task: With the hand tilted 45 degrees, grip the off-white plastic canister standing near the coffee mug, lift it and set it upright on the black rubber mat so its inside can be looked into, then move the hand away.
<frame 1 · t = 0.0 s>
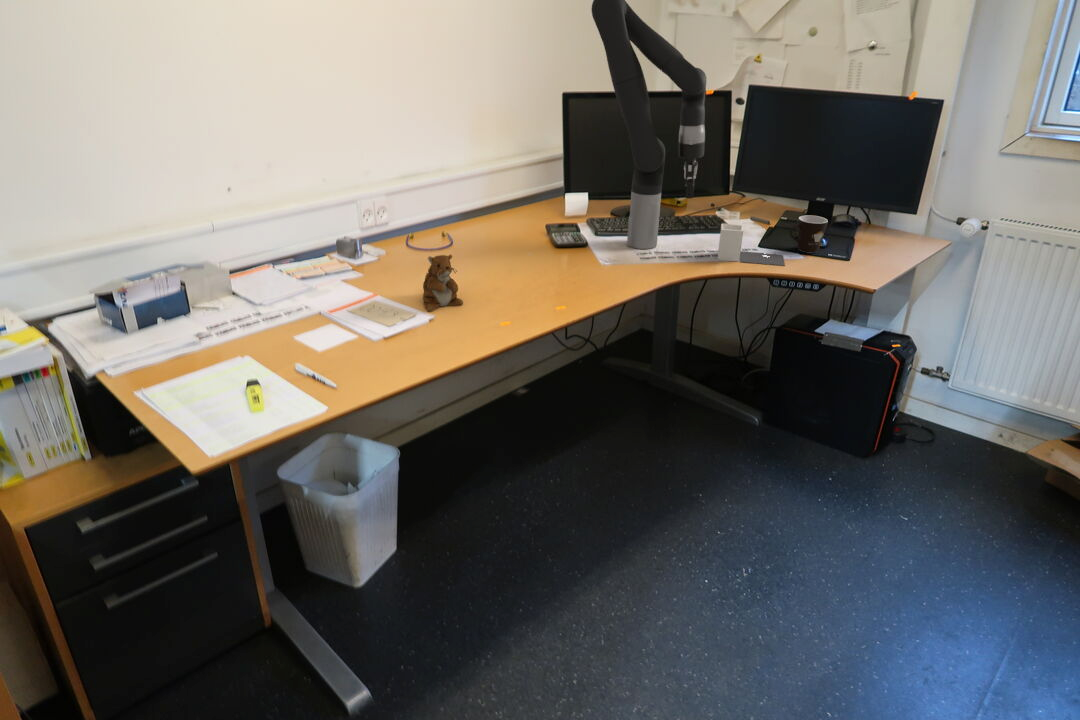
hand: (689, 194, 228), 17 cm above the table, tool pointing down, fingers open, 8 cm apart
canister: (728, 257, 229), on the table
brown plush animal: (439, 301, 195), on the table
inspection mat: (761, 258, 228), on the table
coffee mug: (802, 250, 236), on the table
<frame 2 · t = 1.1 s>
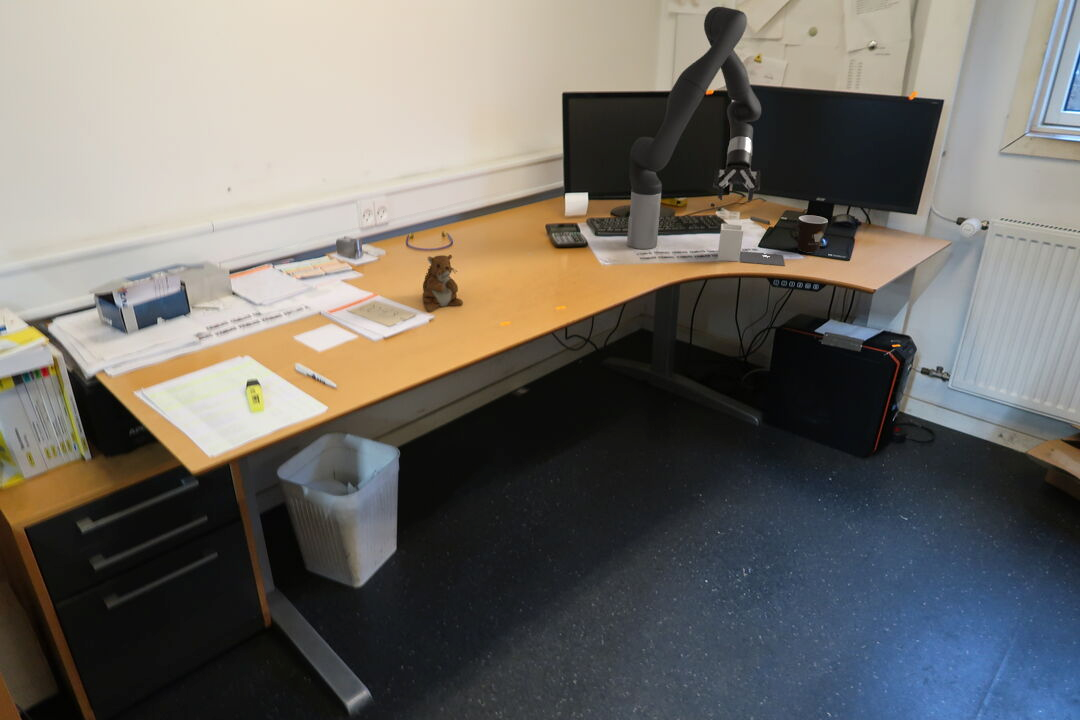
hand: (734, 200, 232), 15 cm above the table, tool tilted 45°, fingers open, 8 cm apart
nothing on the table moved.
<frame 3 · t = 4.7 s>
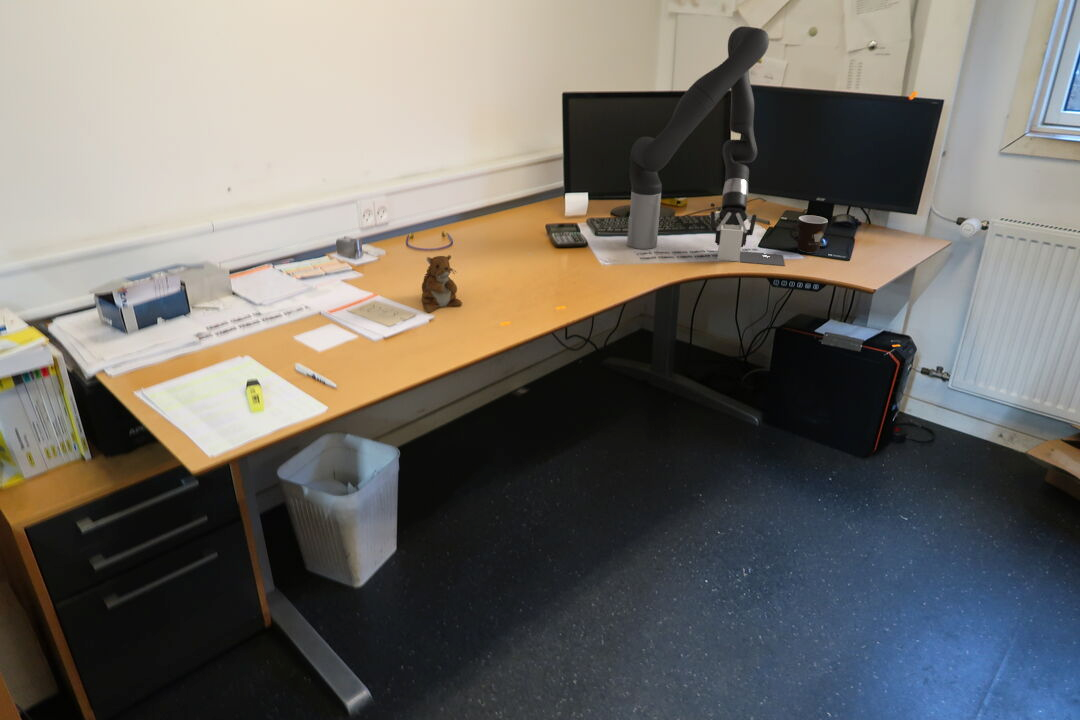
hand: (730, 244, 225), 4 cm above the table, tool tilted 45°, fingers closed on canister, 6 cm apart
canister: (728, 257, 229), on the table, touching gripper
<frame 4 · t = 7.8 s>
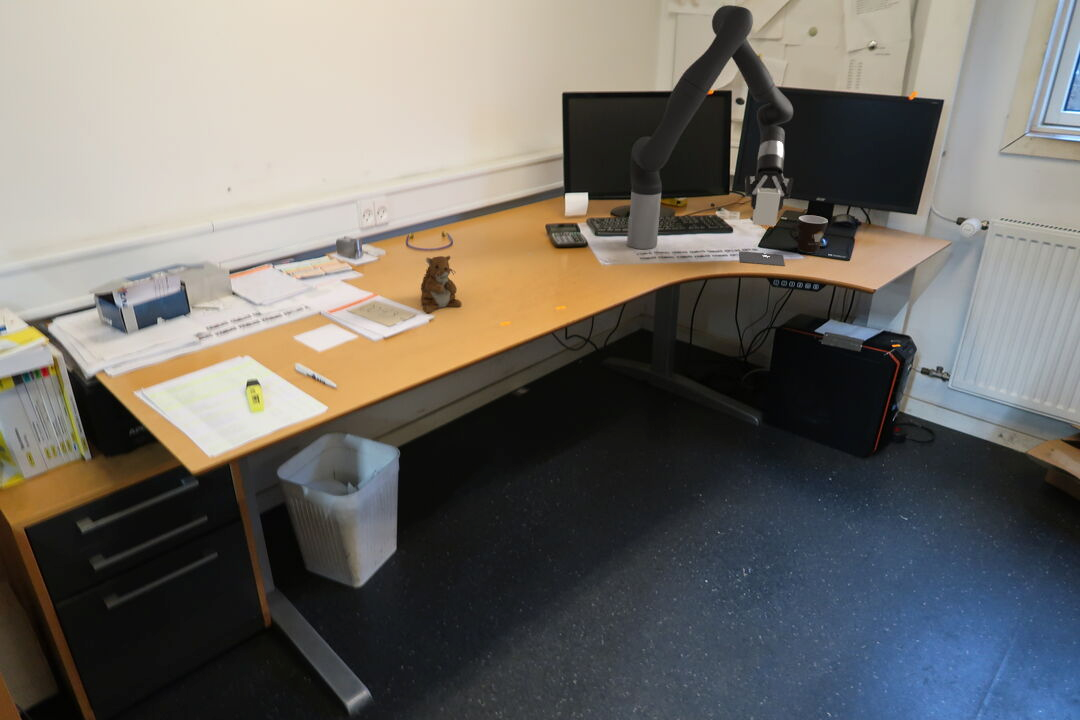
hand: (766, 208, 219), 16 cm above the table, tool tilted 45°, fingers closed on canister, 6 cm apart
canister: (764, 221, 223), point 12 cm above the table, touching gripper
when the fingers open (6 cm above the table, at t = 11.0 s): canister drops 1 cm, resting on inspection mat.
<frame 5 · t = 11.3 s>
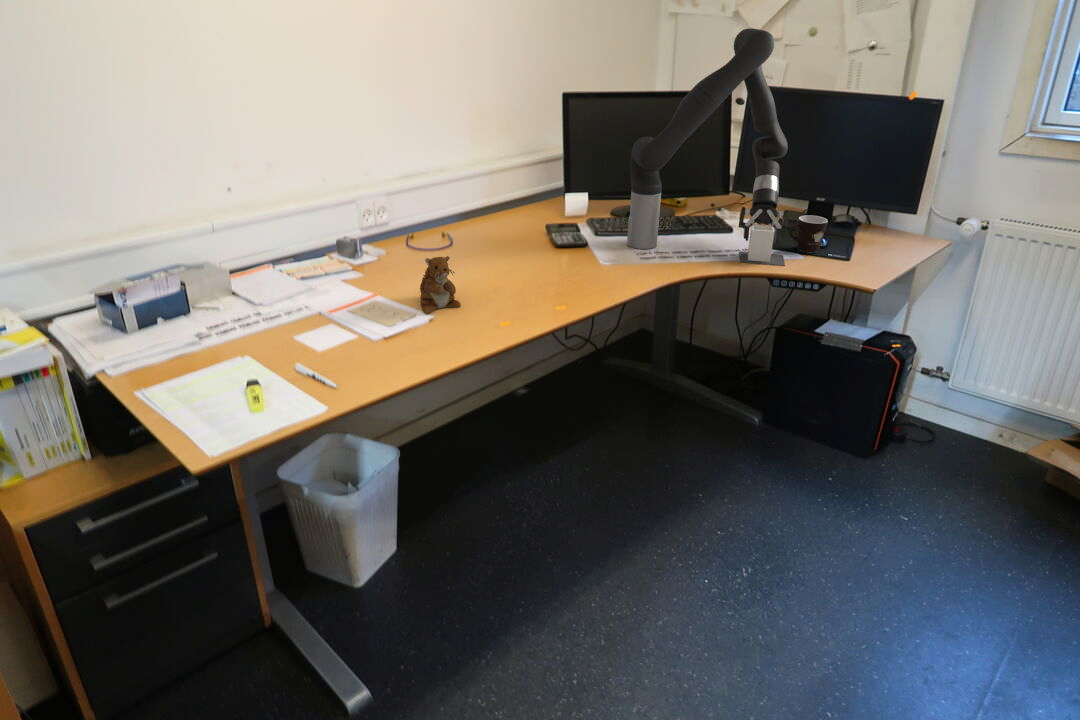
hand: (761, 240, 224), 6 cm above the table, tool tilted 45°, fingers open, 8 cm apart
canister: (758, 257, 228), resting on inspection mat
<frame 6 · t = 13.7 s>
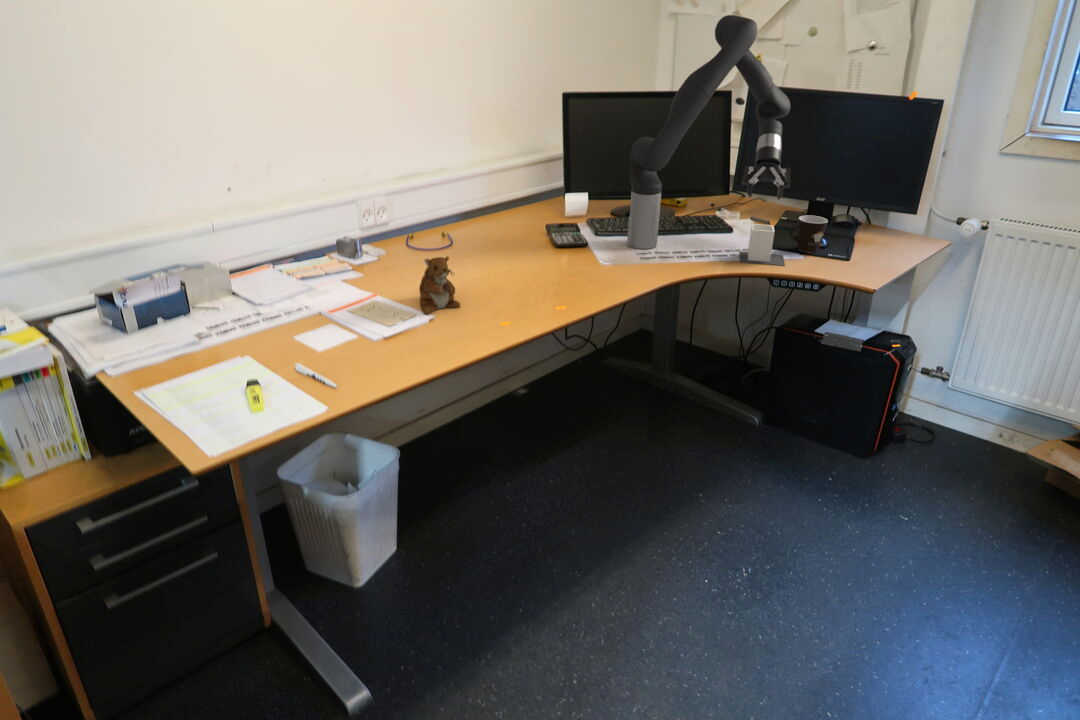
hand: (764, 197, 230), 16 cm above the table, tool tilted 45°, fingers open, 8 cm apart
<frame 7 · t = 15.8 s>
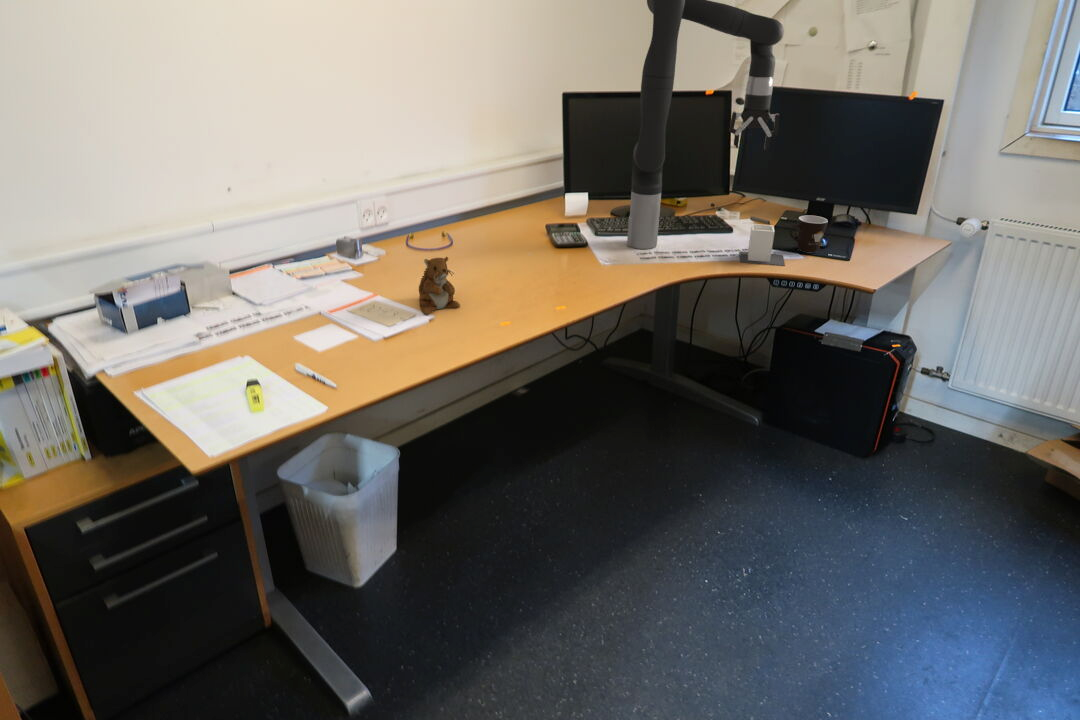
hand: (751, 148, 227), 30 cm above the table, tool pointing down, fingers open, 8 cm apart
at the end: canister inside the target area (1.0 cm from its centre), resting on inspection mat; canister tilted 0°; the gripper is holding nothing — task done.
